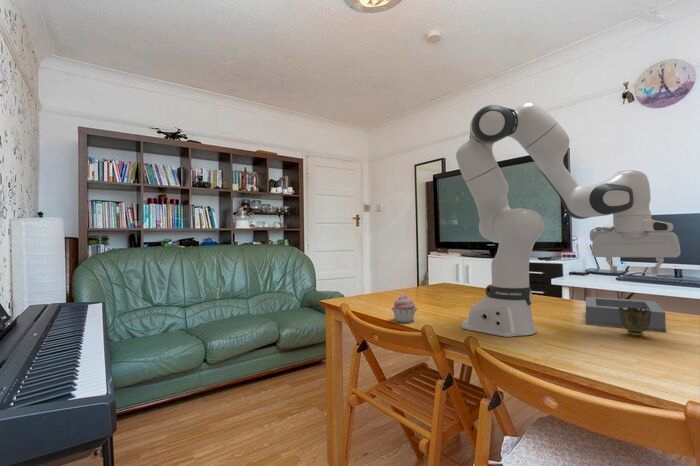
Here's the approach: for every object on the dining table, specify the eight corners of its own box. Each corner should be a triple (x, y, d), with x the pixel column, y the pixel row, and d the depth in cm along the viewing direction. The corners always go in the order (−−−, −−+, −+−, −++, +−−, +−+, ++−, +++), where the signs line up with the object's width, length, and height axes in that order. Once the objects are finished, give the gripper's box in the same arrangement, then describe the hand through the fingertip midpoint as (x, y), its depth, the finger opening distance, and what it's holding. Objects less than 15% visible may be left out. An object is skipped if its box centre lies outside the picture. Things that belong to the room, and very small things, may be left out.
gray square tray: (586, 324, 117) (585, 306, 117) (586, 312, 133) (585, 296, 133) (665, 332, 105) (665, 312, 105) (655, 318, 122) (654, 301, 122)
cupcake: (409, 325, 120) (408, 297, 120) (386, 322, 126) (386, 294, 126) (422, 320, 127) (421, 293, 127) (400, 317, 134) (400, 291, 134)
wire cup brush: (639, 332, 106) (638, 306, 106) (658, 339, 98) (657, 311, 98) (613, 332, 106) (612, 306, 106) (630, 339, 99) (629, 311, 99)
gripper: (589, 227, 106) (591, 272, 106) (680, 224, 94) (683, 275, 94) (589, 227, 111) (591, 270, 111) (675, 224, 99) (678, 272, 99)
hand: (634, 272), depth 102 cm, fingers open, 8 cm apart
